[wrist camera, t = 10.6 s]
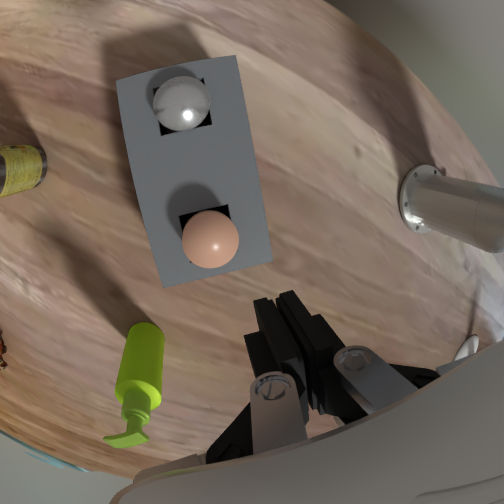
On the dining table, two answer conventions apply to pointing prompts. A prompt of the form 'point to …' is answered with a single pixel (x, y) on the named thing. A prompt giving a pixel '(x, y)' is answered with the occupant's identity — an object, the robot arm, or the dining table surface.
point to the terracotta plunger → (210, 239)
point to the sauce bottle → (20, 168)
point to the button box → (194, 168)
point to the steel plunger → (181, 103)
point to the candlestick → (467, 348)
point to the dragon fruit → (0, 350)
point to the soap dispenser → (139, 382)
